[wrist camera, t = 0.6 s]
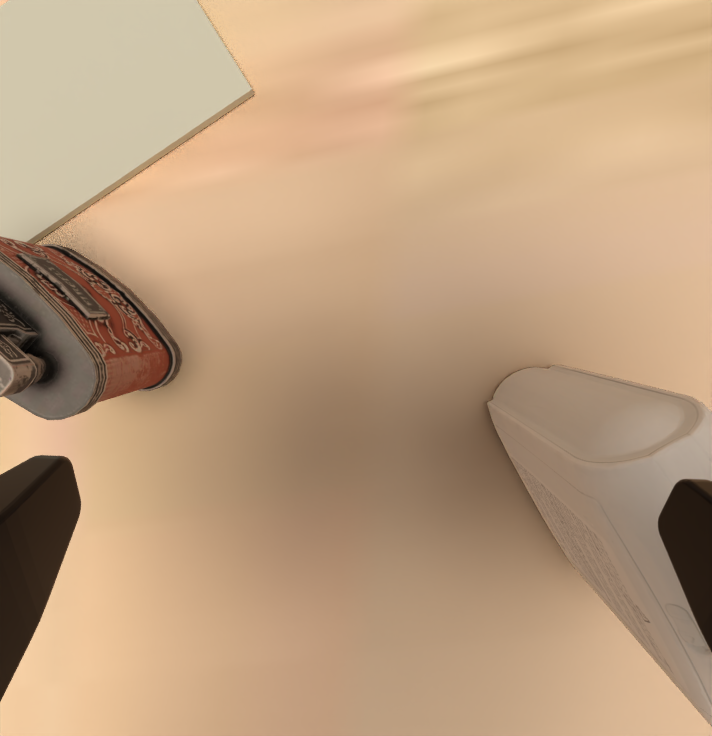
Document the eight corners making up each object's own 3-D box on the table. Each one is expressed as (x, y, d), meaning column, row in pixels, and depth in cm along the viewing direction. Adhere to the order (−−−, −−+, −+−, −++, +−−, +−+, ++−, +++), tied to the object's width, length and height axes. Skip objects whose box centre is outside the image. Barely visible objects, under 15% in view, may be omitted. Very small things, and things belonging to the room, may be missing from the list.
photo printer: (657, 539, 24) (978, 776, 11) (575, 582, 24) (802, 861, 12) (553, 348, 23) (777, 379, 11) (470, 395, 23) (593, 479, 11)
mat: (-5, 269, 23) (-13, 268, 22) (-118, 103, 22) (-129, 98, 22) (254, 94, 22) (252, 89, 21) (144, -84, 21) (138, -93, 21)
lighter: (198, 351, 23) (73, 374, 13) (149, 405, 23) (-9, 468, 13) (63, 228, 23) (-173, 156, 13) (15, 285, 23) (-253, 257, 13)
